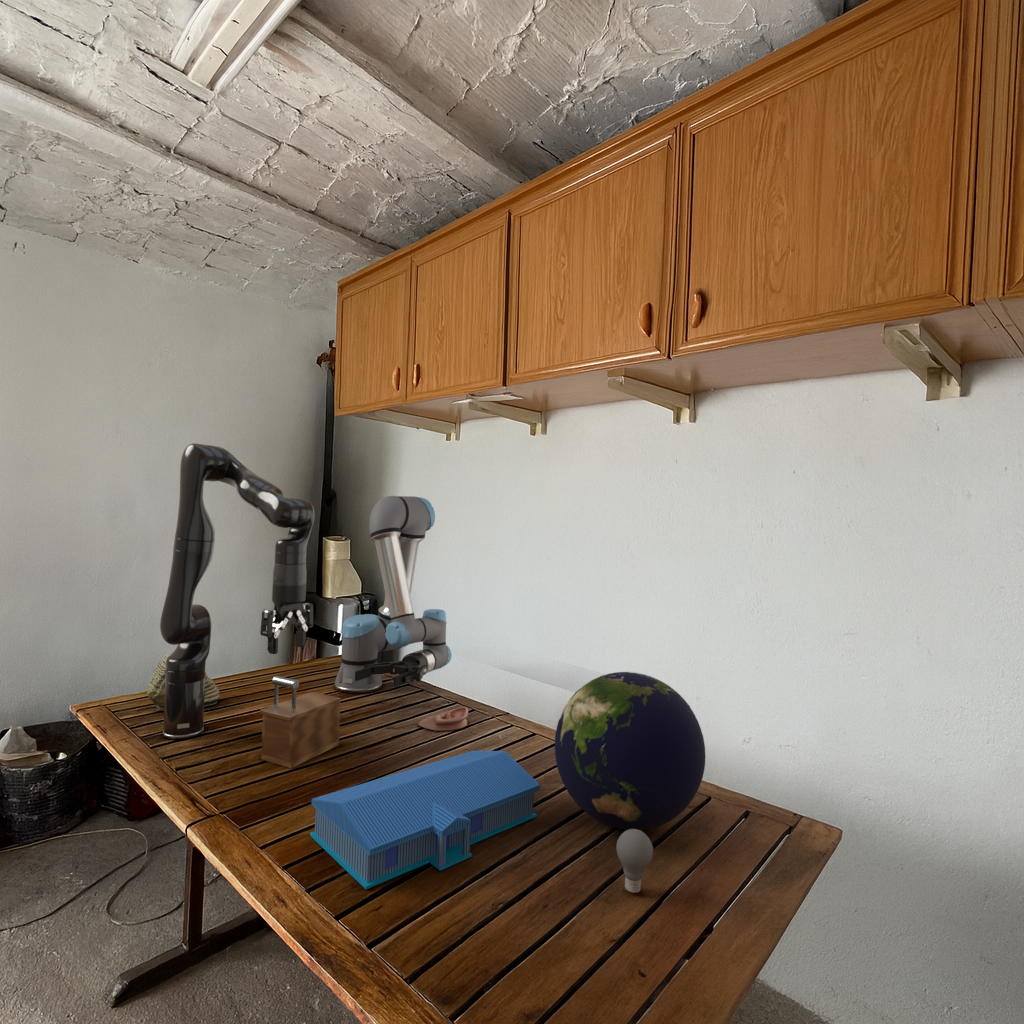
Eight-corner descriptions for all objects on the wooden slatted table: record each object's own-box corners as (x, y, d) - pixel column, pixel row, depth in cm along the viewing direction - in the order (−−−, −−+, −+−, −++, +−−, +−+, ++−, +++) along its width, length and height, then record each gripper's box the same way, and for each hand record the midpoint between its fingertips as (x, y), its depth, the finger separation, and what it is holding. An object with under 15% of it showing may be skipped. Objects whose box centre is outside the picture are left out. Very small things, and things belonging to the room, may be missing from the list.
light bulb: (610, 879, 108) (613, 822, 108) (644, 879, 109) (647, 822, 109) (619, 902, 102) (622, 840, 102) (655, 901, 103) (658, 840, 103)
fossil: (144, 707, 182) (145, 655, 182) (212, 696, 194) (213, 647, 194) (151, 716, 175) (153, 662, 175) (221, 703, 188) (223, 653, 188)
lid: (290, 721, 146) (291, 684, 146) (259, 713, 150) (261, 677, 150) (340, 701, 161) (341, 668, 161) (312, 694, 166) (313, 662, 165)
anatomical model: (414, 713, 175) (428, 701, 186) (414, 728, 175) (427, 714, 186) (460, 719, 172) (471, 706, 184) (460, 733, 172) (471, 719, 184)
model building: (376, 899, 100) (378, 836, 100) (308, 834, 119) (310, 781, 118) (548, 822, 127) (550, 773, 127) (472, 779, 145) (474, 735, 145)
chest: (291, 768, 147) (292, 720, 147) (261, 759, 151) (262, 712, 151) (339, 745, 162) (340, 701, 161) (310, 737, 166) (312, 695, 166)
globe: (530, 838, 120) (537, 682, 120) (575, 777, 148) (580, 650, 148) (692, 880, 109) (701, 707, 109) (708, 805, 137) (715, 668, 136)
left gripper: (278, 586, 142) (275, 658, 142) (322, 580, 155) (320, 646, 155) (254, 583, 145) (251, 653, 146) (299, 577, 158) (297, 642, 158)
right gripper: (451, 680, 194) (411, 698, 174) (385, 671, 204) (340, 686, 185) (451, 656, 194) (411, 670, 175) (385, 647, 205) (340, 661, 185)
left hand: (287, 650), depth 150 cm, fingers open, 8 cm apart
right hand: (374, 679), depth 180 cm, fingers open, 13 cm apart
